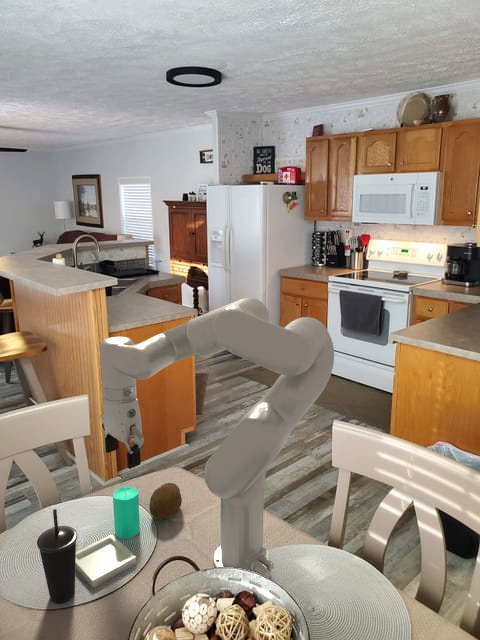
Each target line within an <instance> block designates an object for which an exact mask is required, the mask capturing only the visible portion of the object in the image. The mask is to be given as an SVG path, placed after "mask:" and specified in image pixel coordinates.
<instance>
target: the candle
mask: <svg viewBox="0 0 480 640" xmlns="http://www.w3.org/2000/svg"><path fill="white" fill-rule="evenodd" d="M139 503H140V502H139V491H138V489H137V488H136V487H131V486H125V485H124V486H121V487H119V488H117V489H116V490H114V491H113V495H112V504H113V522H114V523H113V524H114V534H115V535H116V537H117V538H120V539H131V538H135V537H136V536H137V535H138V534H139V533H140V530H141V527H140V504H139Z"/></svg>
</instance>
